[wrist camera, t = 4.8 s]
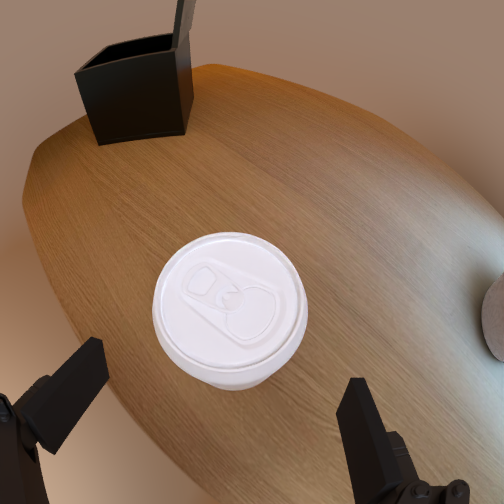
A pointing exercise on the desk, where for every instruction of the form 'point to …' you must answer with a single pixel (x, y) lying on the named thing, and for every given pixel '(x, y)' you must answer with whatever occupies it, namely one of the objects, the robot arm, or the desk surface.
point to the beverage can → (229, 309)
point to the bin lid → (182, 21)
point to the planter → (494, 318)
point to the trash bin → (138, 89)
